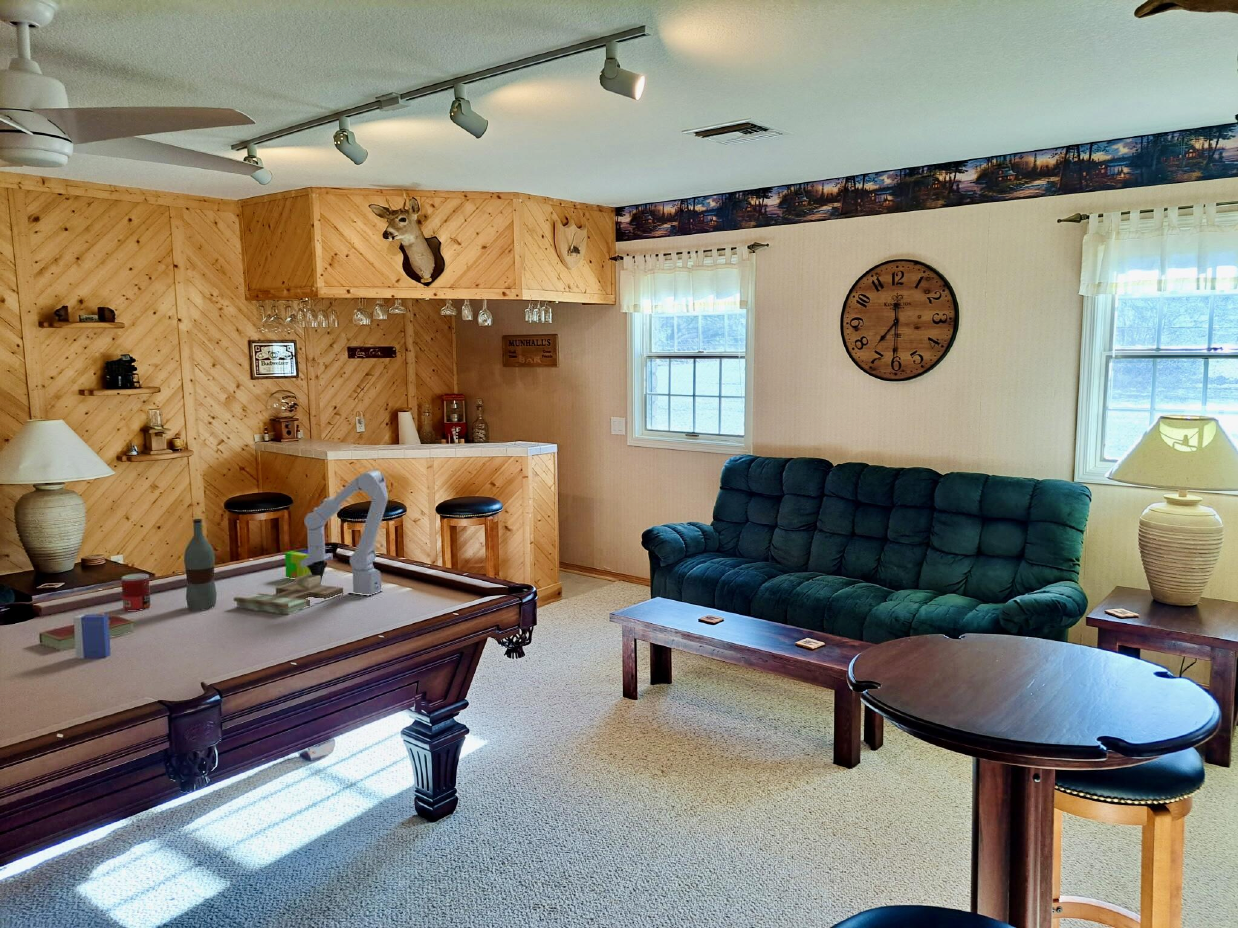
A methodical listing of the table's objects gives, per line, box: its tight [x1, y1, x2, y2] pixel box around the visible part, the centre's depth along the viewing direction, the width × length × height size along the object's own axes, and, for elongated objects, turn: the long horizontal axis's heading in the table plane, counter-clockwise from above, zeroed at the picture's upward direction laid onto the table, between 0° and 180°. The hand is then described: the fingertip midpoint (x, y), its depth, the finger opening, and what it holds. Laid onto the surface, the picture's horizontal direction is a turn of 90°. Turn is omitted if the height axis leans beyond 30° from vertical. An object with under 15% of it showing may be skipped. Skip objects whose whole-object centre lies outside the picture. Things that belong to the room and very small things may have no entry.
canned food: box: [121, 573, 151, 611], centre depth 283 cm, size 8×8×11 cm
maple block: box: [294, 574, 322, 591], centre depth 301 cm, size 6×6×4 cm
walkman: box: [73, 612, 112, 659], centre depth 236 cm, size 8×3×12 cm, turn 96°
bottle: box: [183, 518, 218, 611], centre depth 283 cm, size 9×9×30 cm
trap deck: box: [233, 581, 344, 615], centre depth 293 cm, size 22×28×4 cm
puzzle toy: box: [284, 547, 326, 578], centre depth 326 cm, size 10×10×10 cm
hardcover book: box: [38, 614, 136, 651], centre depth 252 cm, size 12×21×4 cm, turn 148°
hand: (317, 582), depth 305 cm, fingers closed
